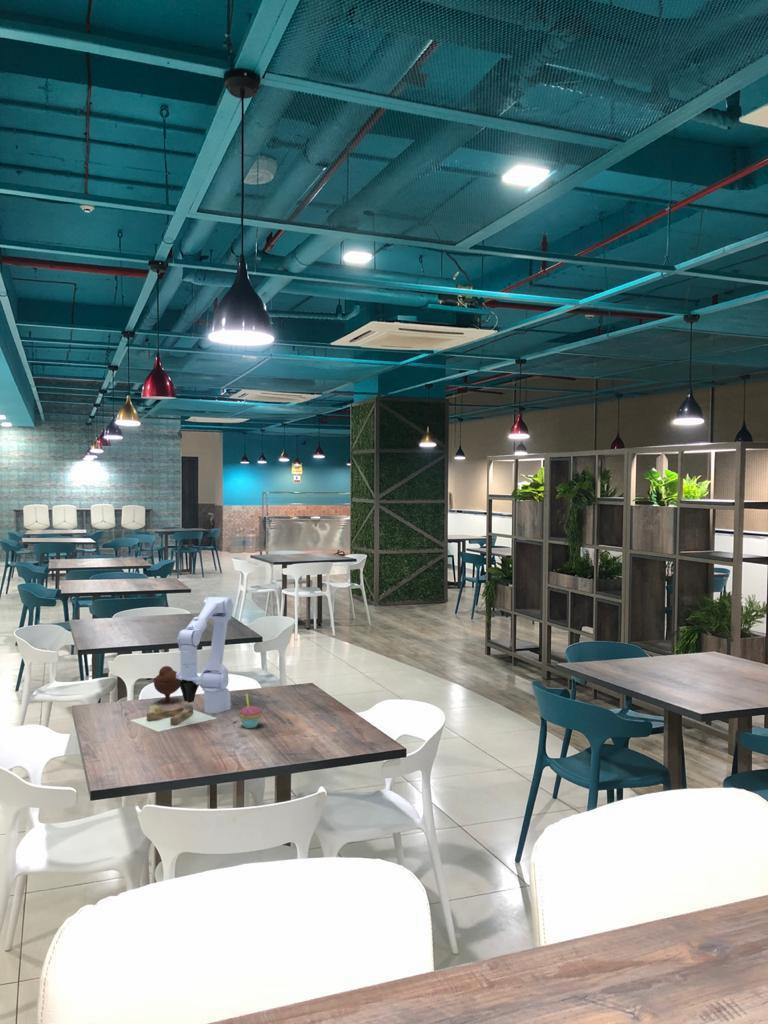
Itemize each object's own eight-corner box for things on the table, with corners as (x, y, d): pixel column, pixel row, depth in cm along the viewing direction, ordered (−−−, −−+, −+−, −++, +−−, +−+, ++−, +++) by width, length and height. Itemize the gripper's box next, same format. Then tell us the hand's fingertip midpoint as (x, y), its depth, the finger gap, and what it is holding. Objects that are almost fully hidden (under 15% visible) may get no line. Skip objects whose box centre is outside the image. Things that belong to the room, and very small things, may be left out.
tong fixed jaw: (189, 711, 307) (189, 703, 306) (194, 713, 304) (194, 705, 304) (146, 720, 294) (146, 712, 294) (151, 722, 291) (151, 714, 291)
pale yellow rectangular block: (156, 710, 298) (156, 705, 298) (162, 712, 295) (162, 707, 295) (149, 711, 296) (149, 706, 296) (154, 714, 293) (154, 708, 293)
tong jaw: (187, 714, 302) (187, 708, 302) (192, 714, 301) (192, 708, 301) (170, 724, 288) (170, 718, 288) (175, 725, 288) (175, 718, 288)
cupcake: (233, 727, 289) (233, 693, 289) (248, 721, 297) (248, 689, 296) (253, 730, 285) (253, 696, 285) (267, 724, 293) (267, 691, 292)
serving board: (188, 710, 312) (188, 708, 312) (217, 721, 297) (217, 718, 297) (130, 722, 295) (130, 720, 295) (157, 734, 281) (157, 731, 281)
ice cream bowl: (147, 707, 317) (147, 668, 317) (163, 700, 328) (163, 663, 328) (171, 709, 314) (171, 670, 314) (186, 702, 325) (186, 664, 324)
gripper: (168, 661, 291) (168, 699, 291) (189, 668, 280) (189, 707, 280) (185, 659, 295) (185, 696, 296) (207, 665, 285) (207, 703, 285)
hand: (188, 701), depth 288 cm, fingers closed
